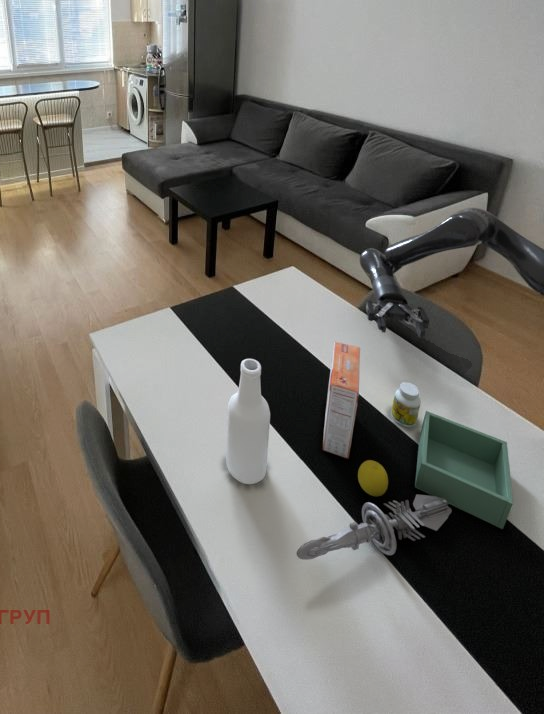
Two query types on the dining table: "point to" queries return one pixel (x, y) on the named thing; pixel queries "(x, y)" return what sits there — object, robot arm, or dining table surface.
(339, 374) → the cracker box
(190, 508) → the dining table surface
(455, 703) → the dining table surface
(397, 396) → the supplement bottle
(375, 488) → the lemon
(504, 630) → the dining table surface
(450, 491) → the open storage box
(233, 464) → the alcohol
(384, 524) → the spaceship
